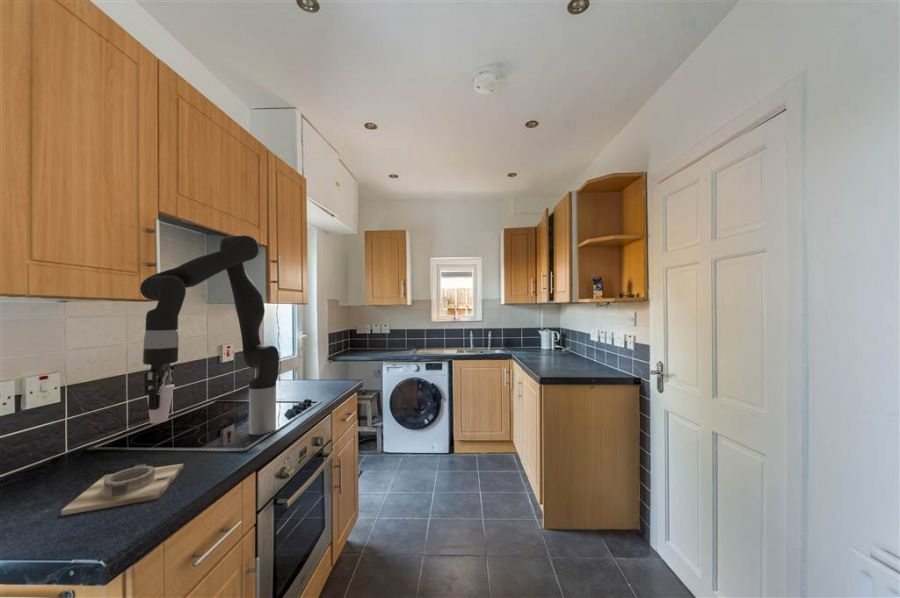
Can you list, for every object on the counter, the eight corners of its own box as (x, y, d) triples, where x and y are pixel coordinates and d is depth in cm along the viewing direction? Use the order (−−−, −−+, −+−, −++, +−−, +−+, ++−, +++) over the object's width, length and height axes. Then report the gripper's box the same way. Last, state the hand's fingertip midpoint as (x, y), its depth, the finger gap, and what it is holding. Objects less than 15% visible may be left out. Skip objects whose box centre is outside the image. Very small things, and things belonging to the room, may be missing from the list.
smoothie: (156, 425, 92) (158, 373, 92) (137, 424, 93) (139, 372, 94) (179, 418, 98) (181, 369, 99) (161, 417, 99) (162, 368, 100)
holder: (105, 479, 96) (105, 466, 96) (183, 467, 102) (183, 455, 103) (61, 515, 79) (61, 499, 79) (157, 498, 86) (158, 483, 86)
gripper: (168, 348, 91) (165, 411, 90) (186, 343, 104) (184, 399, 104) (132, 349, 88) (129, 414, 88) (155, 344, 102) (153, 401, 101)
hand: (159, 406), depth 96 cm, fingers closed on smoothie, 6 cm apart
